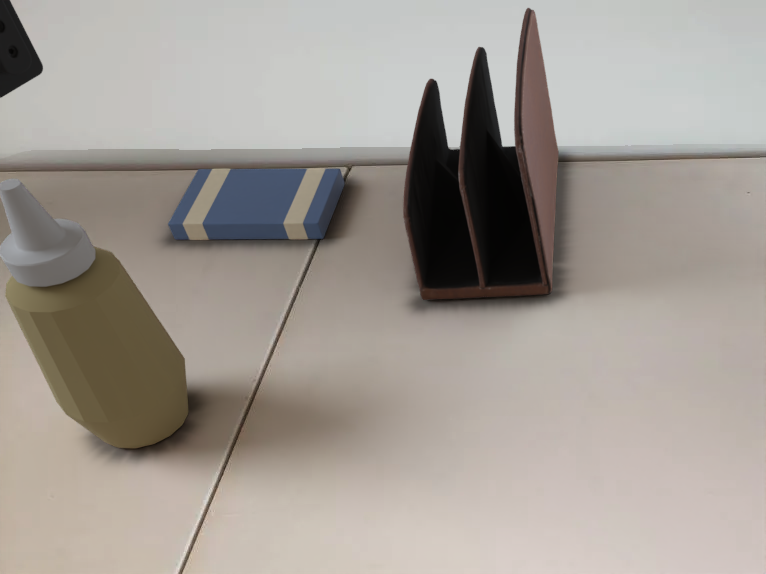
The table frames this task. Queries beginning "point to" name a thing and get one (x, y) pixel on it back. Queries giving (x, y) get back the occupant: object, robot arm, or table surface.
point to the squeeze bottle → (90, 328)
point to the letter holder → (485, 187)
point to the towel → (258, 204)
